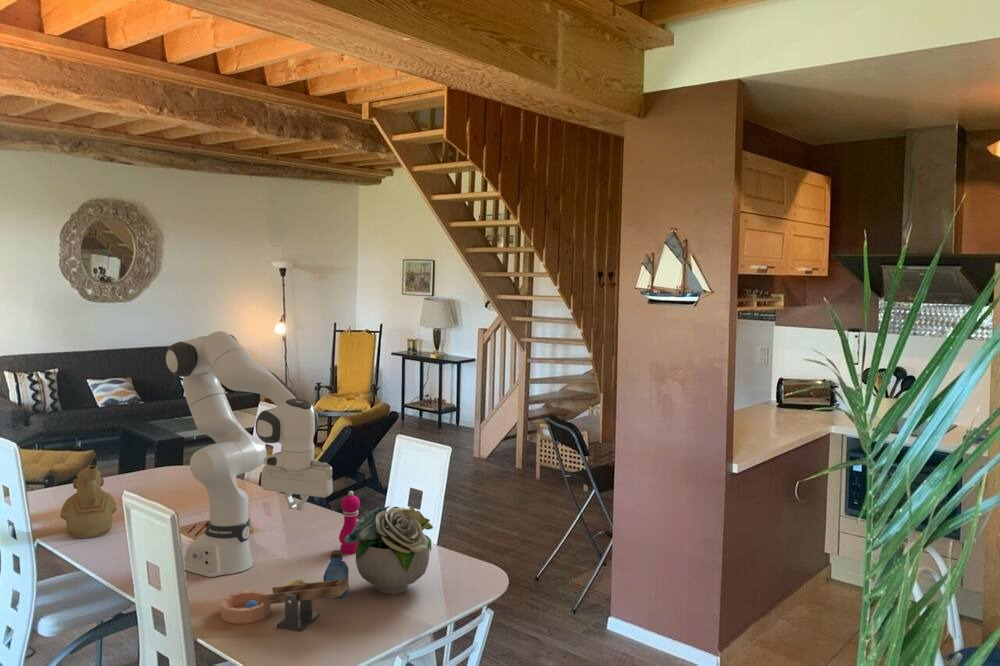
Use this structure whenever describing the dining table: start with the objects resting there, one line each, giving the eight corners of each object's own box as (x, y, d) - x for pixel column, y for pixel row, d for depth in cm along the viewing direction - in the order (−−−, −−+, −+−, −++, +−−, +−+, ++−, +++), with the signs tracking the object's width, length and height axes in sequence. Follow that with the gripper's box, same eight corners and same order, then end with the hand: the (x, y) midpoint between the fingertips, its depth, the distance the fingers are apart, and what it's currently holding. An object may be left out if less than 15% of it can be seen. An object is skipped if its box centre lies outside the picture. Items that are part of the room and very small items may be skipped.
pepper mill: (356, 555, 241) (357, 494, 239) (335, 553, 242) (336, 493, 241) (364, 548, 248) (365, 489, 246) (344, 545, 249) (345, 487, 248)
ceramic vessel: (113, 521, 267) (113, 452, 266) (120, 537, 251) (120, 464, 249) (58, 528, 258) (58, 457, 256) (62, 546, 242) (61, 470, 240)
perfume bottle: (326, 588, 214) (327, 548, 213) (348, 588, 215) (348, 548, 214) (323, 598, 208) (323, 556, 207) (345, 597, 208) (346, 556, 208)
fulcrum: (276, 627, 189) (276, 595, 189) (296, 611, 199) (296, 580, 198) (301, 631, 187) (301, 598, 187) (320, 615, 197) (320, 583, 196)
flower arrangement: (398, 615, 198) (400, 525, 197) (330, 592, 212) (331, 508, 210) (452, 584, 219) (454, 503, 218) (387, 565, 233) (389, 489, 231)
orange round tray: (210, 620, 192) (211, 606, 192) (239, 600, 204) (239, 588, 204) (253, 626, 189) (253, 613, 189) (279, 606, 201) (279, 594, 201)
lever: (263, 604, 192) (261, 593, 192) (290, 584, 205) (288, 574, 205) (339, 596, 187) (337, 584, 187) (362, 576, 200) (360, 565, 200)
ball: (243, 601, 195) (253, 604, 194) (250, 597, 198) (260, 599, 197) (242, 613, 195) (253, 615, 194) (249, 608, 198) (260, 610, 198)
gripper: (337, 460, 202) (336, 510, 203) (271, 453, 208) (270, 501, 209) (326, 466, 196) (325, 517, 197) (258, 458, 202) (257, 508, 203)
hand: (296, 509), depth 203 cm, fingers closed
